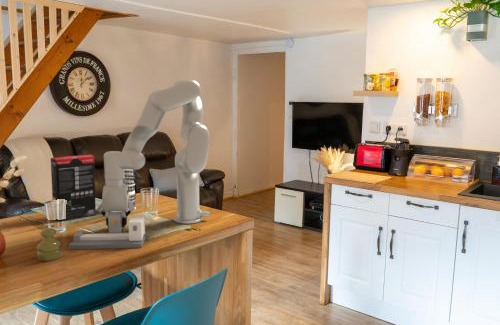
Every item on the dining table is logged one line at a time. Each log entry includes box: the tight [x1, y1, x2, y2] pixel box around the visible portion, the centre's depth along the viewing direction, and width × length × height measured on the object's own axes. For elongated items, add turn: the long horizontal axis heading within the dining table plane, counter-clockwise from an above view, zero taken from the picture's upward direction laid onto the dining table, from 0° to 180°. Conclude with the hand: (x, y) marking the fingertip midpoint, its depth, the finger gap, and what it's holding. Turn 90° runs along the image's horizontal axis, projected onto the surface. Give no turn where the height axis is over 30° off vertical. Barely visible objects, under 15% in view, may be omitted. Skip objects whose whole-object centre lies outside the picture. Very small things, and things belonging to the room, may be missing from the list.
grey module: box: [107, 211, 124, 233], centre depth 170 cm, size 4×9×7 cm, turn 5°
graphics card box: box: [50, 154, 97, 221], centre depth 186 cm, size 17×7×27 cm, turn 134°
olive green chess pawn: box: [36, 227, 63, 262], centre depth 141 cm, size 7×7×10 cm
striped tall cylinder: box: [124, 169, 137, 211], centre depth 200 cm, size 9×9×25 cm
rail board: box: [68, 215, 148, 250], centre depth 156 cm, size 25×13×9 cm, turn 95°
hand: (116, 226), depth 170 cm, fingers open, 5 cm apart
